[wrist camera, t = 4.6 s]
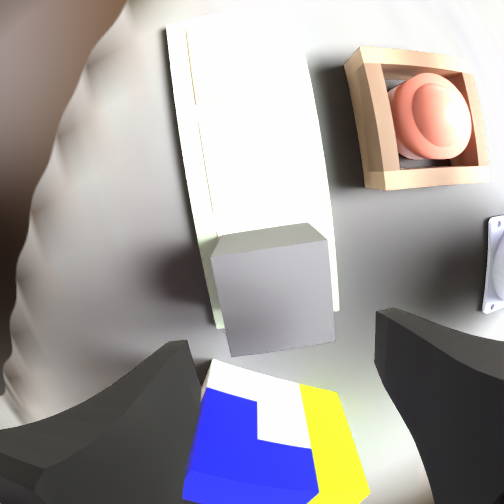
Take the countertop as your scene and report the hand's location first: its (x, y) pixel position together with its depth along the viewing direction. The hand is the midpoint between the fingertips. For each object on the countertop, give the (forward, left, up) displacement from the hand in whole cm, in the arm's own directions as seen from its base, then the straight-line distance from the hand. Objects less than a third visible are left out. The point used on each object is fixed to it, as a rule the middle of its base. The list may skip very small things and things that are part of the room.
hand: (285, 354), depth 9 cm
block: (0, 0, -9) cm, 9 cm away
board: (0, -7, -10) cm, 12 cm away
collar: (-11, -8, -10) cm, 17 cm away
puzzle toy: (+3, +13, -10) cm, 17 cm away
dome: (-10, -8, -10) cm, 16 cm away
